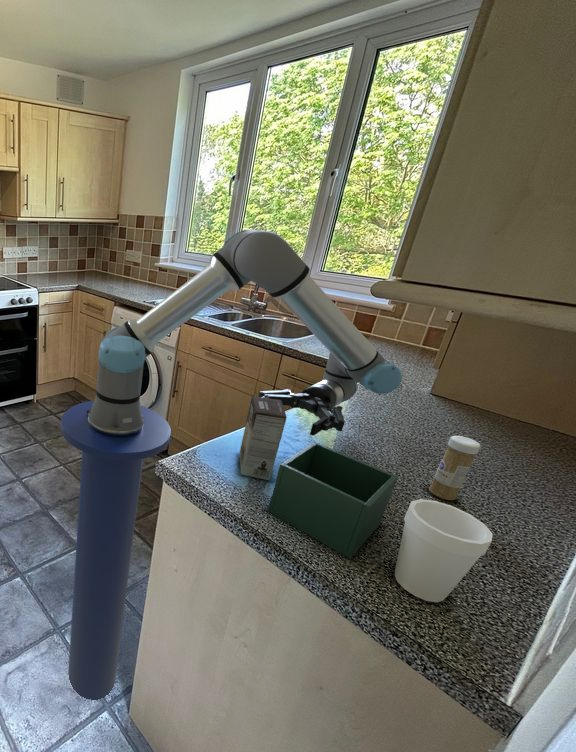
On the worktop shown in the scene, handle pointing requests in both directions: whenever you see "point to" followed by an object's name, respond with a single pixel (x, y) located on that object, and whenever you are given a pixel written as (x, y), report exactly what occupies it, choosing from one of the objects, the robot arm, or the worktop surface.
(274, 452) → the coffee box
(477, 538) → the foam cup
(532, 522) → the worktop surface
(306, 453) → the waste bin
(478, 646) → the worktop surface
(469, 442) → the sprinkles bottle
